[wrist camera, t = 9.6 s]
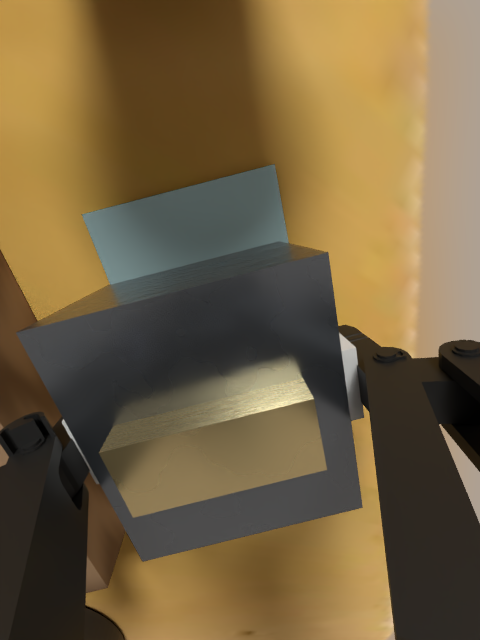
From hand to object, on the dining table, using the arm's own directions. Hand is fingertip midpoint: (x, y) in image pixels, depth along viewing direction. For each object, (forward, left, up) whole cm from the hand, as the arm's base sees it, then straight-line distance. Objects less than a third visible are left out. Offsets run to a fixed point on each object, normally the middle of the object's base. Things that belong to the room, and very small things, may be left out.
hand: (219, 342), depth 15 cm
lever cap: (0, 0, +1) cm, 1 cm away
